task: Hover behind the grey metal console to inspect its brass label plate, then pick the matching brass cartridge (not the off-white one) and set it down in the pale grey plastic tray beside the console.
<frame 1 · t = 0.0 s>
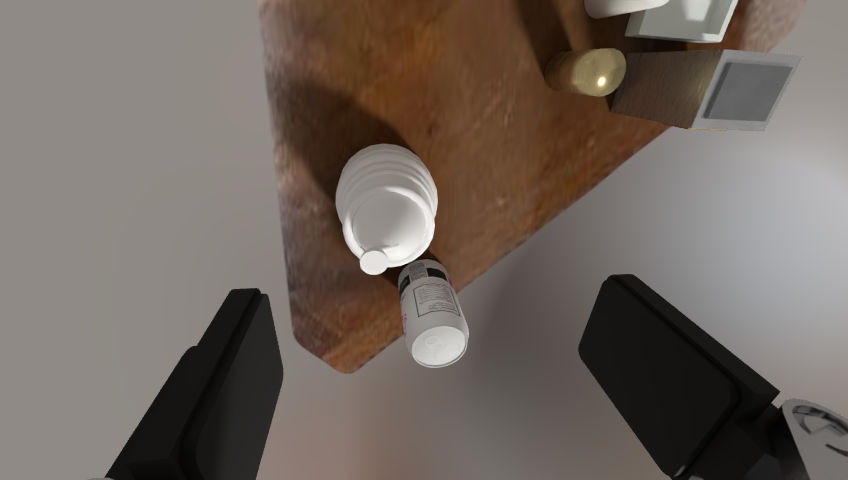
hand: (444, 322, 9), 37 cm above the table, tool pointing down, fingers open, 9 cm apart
supplement can: (422, 277, 54), on the table
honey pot: (386, 190, 46), on the table
brass cartridge: (560, 71, 41), on the table
console: (648, 85, 44), on the table
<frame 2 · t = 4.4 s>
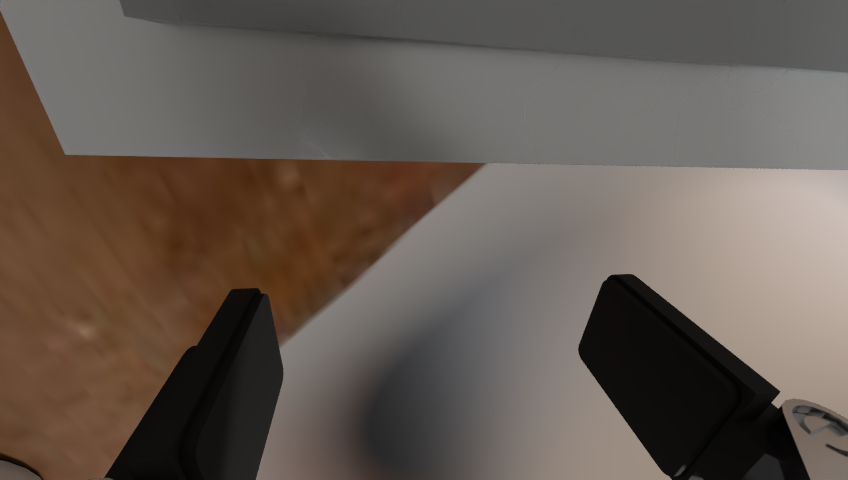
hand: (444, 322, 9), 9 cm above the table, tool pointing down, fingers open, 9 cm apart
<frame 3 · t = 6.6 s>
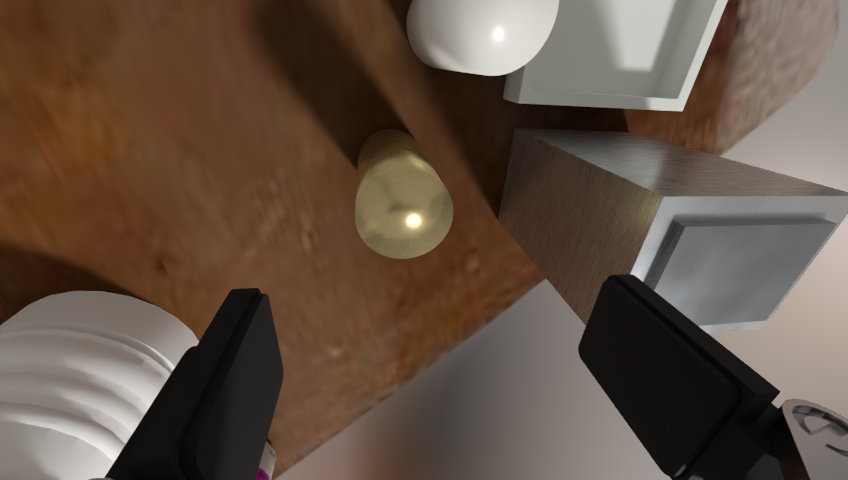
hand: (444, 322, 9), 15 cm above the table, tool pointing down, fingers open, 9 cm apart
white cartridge: (443, 26, 19), on the table
tray: (608, 1, 20), on the table
supplement can: (236, 449, 35), on the table
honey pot: (116, 352, 26), on the table
brass cartridge: (390, 161, 22), on the table
console: (561, 177, 25), on the table
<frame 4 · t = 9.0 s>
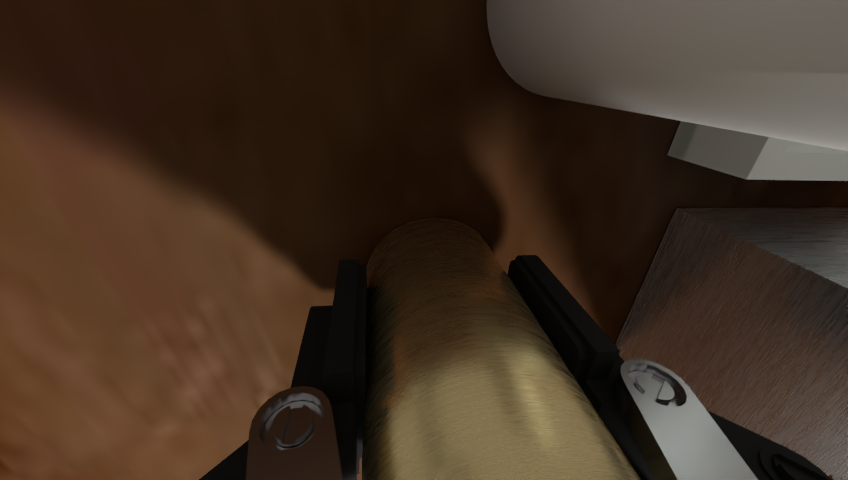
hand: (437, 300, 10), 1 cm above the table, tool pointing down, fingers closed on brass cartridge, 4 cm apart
brass cartridge: (430, 275, 11), on the table, touching gripper
console: (734, 285, 14), on the table
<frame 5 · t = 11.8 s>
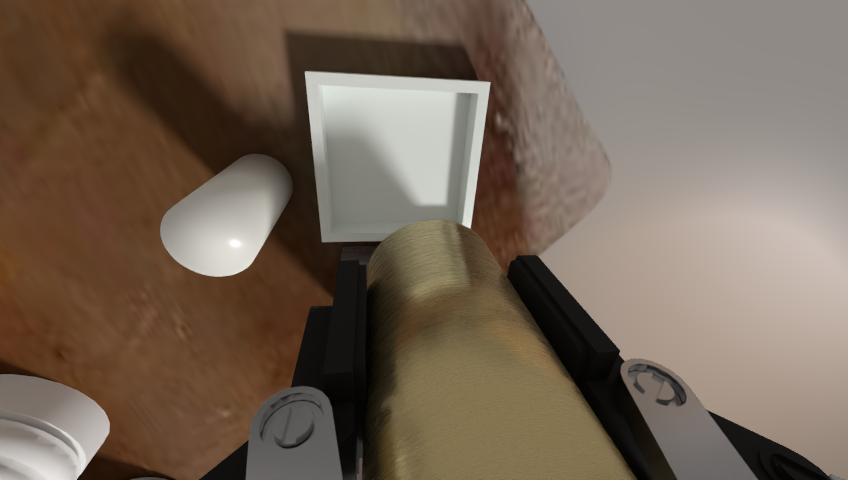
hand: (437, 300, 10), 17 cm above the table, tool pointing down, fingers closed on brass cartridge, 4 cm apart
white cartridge: (261, 183, 24), on the table
tray: (396, 159, 25), on the table
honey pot: (32, 418, 32), on the table
brass cartridge: (430, 277, 11), point 16 cm above the table, touching gripper
console: (394, 278, 30), on the table
when the fingers open (4 cm above the table, at t = 14.8 s): brass cartridge drops 2 cm, resting on tray.
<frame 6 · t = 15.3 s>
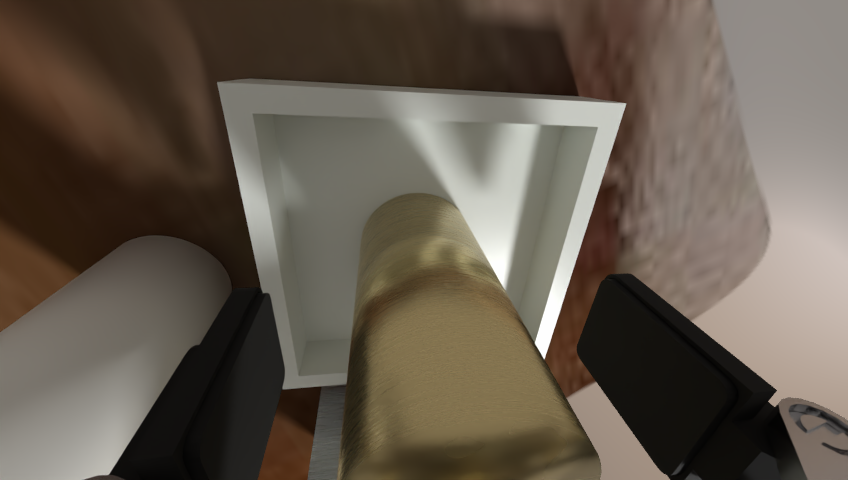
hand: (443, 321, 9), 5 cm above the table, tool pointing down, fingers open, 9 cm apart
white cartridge: (172, 283, 13), on the table
tray: (419, 236, 14), on the table
brass cartridge: (416, 244, 13), point 1 cm above the table, touching tray
console: (409, 404, 19), on the table
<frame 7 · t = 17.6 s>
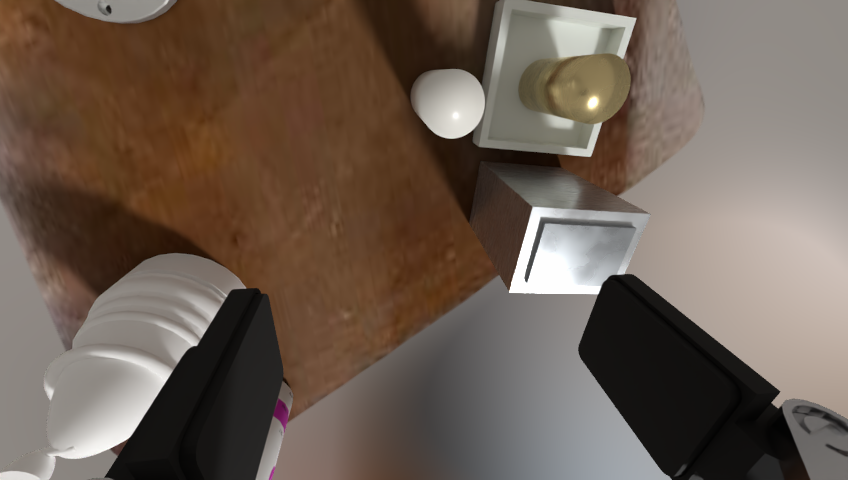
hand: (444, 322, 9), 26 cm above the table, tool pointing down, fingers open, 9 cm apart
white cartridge: (434, 96, 30), on the table
tray: (540, 85, 31), on the table
supplement can: (263, 390, 45), on the table
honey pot: (192, 301, 37), on the table
brass cartridge: (541, 85, 30), point 1 cm above the table, touching tray
console: (514, 196, 36), on the table
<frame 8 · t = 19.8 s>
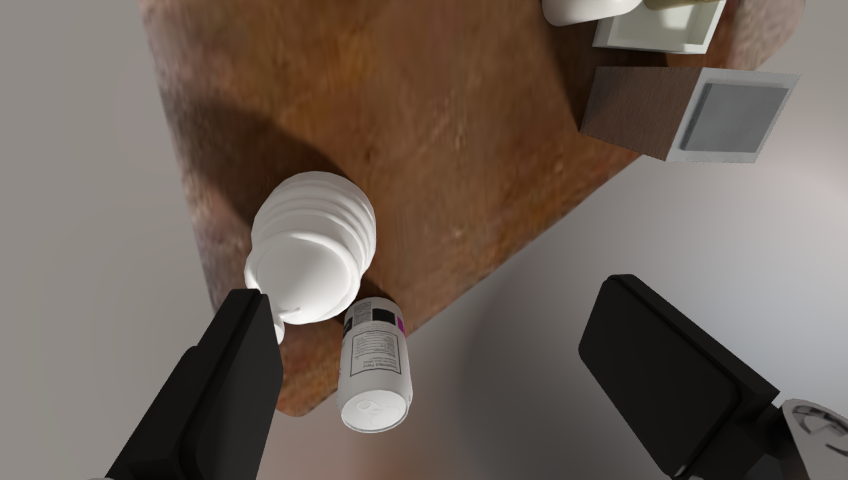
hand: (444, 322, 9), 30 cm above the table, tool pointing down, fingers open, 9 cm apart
supplement can: (373, 315, 48), on the table
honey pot: (322, 222, 40), on the table
console: (623, 103, 38), on the table
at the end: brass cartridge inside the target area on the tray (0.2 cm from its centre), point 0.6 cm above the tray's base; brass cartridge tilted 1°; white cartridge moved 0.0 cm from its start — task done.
